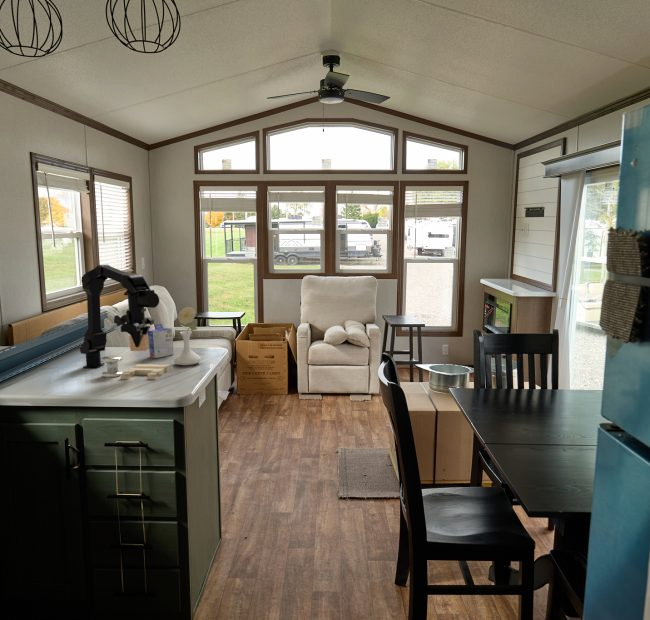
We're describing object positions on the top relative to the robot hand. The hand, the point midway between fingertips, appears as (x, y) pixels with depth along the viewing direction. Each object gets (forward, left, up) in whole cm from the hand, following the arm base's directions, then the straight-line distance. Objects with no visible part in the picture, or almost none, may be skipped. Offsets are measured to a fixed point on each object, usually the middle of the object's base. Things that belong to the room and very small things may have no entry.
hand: (139, 346), depth 226 cm
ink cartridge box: (-33, -4, -12) cm, 36 cm away
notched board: (-1, +2, -12) cm, 12 cm away
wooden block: (0, 0, -2) cm, 2 cm away
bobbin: (+1, -11, -12) cm, 16 cm away
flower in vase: (-17, +14, -12) cm, 25 cm away
